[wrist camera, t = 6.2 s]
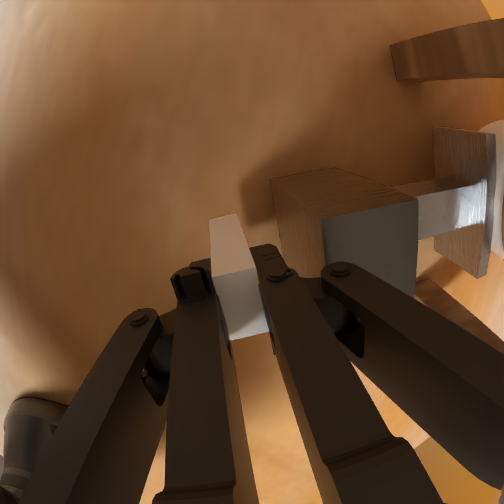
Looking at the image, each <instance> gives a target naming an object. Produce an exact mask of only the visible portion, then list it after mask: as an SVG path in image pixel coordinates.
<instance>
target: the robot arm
mask: <svg viewBox="0 0 504 504" xmlns="http://www.w3.org/2000/svg"><path fill="white" fill-rule="evenodd" d="M209 234H210V254H211V258H208V259H204V260H200V261H195V262H192V263H191V264H190V265H189V266H188V267H185V268H182V269H181V270H179V271H177V272H176V273H174V274H173V275H172V277H171V278H170V280H171V283H172V286H173V288H174V291H175V294H176V297H177V308H175V309H174V310H172V311H170V312H168V313H166V314H163V315H161V316H158V314H157V312H156V310H154V309H151V308H145V309H138V310H137V311H133V312H132V313H131V314H129V315H128V316H127V317H126V318H125V319H124V320H123V321H122V323H121V324H120V326H119V327H118V329H117V330H116V332H115V333H114V335H113V336H112V338H111V339H110V341H109V342H108V344H107V345H106V347H105V349H104V350H103V352H102V353H101V355H100V356H99V358H98V359H97V361H96V363H95V364H94V366H93V367H92V369H91V371H90V372H89V374H88V375H87V377H86V379H85V380H84V382H83V384H82V385H81V387H80V389H79V390H78V392H77V394H76V395H75V397H74V399H73V400H72V402H71V404H70V405H69V407H66V406H63V405H60V404H57V403H54V402H50V401H47V400H42V399H36V398H22V399H18V400H16V401H14V402H13V403H12V404H11V406H10V408H9V410H8V413H7V415H6V417H5V420H4V432H5V434H4V450H3V458H4V459H3V461H4V463H3V465H4V466H3V467H4V468H3V473H2V476H1V480H0V504H139V502H140V499H141V496H142V493H143V490H144V486H145V483H146V480H147V477H148V474H149V471H150V468H151V465H152V462H153V459H154V456H155V453H156V450H157V447H158V444H159V441H160V438H161V435H162V432H163V429H164V426H165V423H166V420H167V429H166V455H165V486H164V489H163V491H162V492H160V493H158V494H156V495H155V497H154V498H153V500H152V504H259V500H258V495H257V490H256V485H255V480H254V474H253V469H252V464H251V458H250V453H249V447H248V442H247V436H246V430H245V424H244V419H243V413H242V407H241V401H240V394H239V388H238V382H237V376H236V369H235V363H234V356H233V350H232V346H231V343H230V341H231V340H236V339H240V338H244V337H249V336H253V335H257V334H261V333H265V332H269V333H270V338H271V343H272V347H273V352H274V355H276V358H277V361H278V364H279V367H280V370H281V373H282V377H283V380H284V383H285V386H286V389H287V392H288V395H289V399H290V402H291V405H292V408H293V411H294V414H295V417H296V421H297V424H298V427H299V430H300V433H301V436H302V439H303V442H304V445H305V449H306V452H307V455H308V458H309V461H310V464H311V467H312V470H313V473H314V476H315V479H316V482H317V486H318V489H319V492H320V495H321V498H322V501H323V504H446V503H443V501H442V500H441V498H440V496H439V494H438V492H437V490H436V488H435V486H434V485H433V483H432V481H431V479H430V477H429V476H428V474H427V472H426V470H425V469H424V467H423V465H422V463H421V461H420V459H419V458H418V456H417V454H416V452H415V451H414V449H413V448H412V446H411V445H410V444H409V442H408V441H407V440H405V439H404V438H403V437H394V436H393V435H392V434H391V432H390V431H389V429H388V428H387V426H386V424H385V422H384V420H383V419H382V417H381V415H380V413H379V411H378V410H377V408H376V406H375V404H374V402H373V401H372V399H371V397H370V395H369V394H368V392H367V390H366V388H365V387H364V385H363V383H362V381H361V380H360V378H359V376H358V374H357V373H356V371H355V369H354V367H353V366H352V364H351V362H352V363H353V364H354V365H355V366H356V367H357V368H358V369H359V370H360V371H361V372H362V373H364V374H365V375H366V376H367V377H368V378H369V379H370V380H371V381H372V382H373V383H374V384H375V385H376V386H377V387H378V388H379V389H380V390H382V391H383V392H384V393H385V394H386V395H387V396H388V397H389V398H390V399H391V400H392V401H393V402H394V403H395V404H396V405H398V406H399V407H400V408H401V409H402V410H403V411H404V412H405V413H406V414H407V415H408V416H409V417H410V418H412V419H413V420H414V421H415V422H416V423H417V424H418V425H419V426H420V427H421V428H422V429H423V430H424V431H426V432H427V433H428V434H429V435H430V436H431V437H432V438H433V439H434V440H435V441H437V443H439V444H440V445H441V446H442V447H443V448H444V449H445V450H446V451H447V452H448V453H449V454H450V455H452V456H453V457H454V458H455V459H456V460H457V461H458V462H459V463H460V464H461V465H462V466H464V467H465V468H466V469H467V470H468V471H469V472H471V473H472V474H473V475H474V476H476V477H477V478H478V479H480V480H481V481H483V482H485V483H487V484H488V485H490V486H492V487H494V488H497V489H499V490H502V493H501V496H500V499H499V504H504V354H502V353H501V352H499V351H498V350H496V349H495V348H493V347H492V346H490V345H488V344H487V343H485V342H484V341H482V340H481V339H479V338H478V337H476V336H474V335H473V334H471V333H470V332H468V331H466V330H465V329H463V328H462V327H460V326H458V325H457V324H455V323H454V322H452V321H450V320H449V319H447V318H445V317H444V316H442V315H441V314H439V313H437V312H436V311H434V310H432V309H431V308H429V307H427V306H426V305H424V304H422V303H421V302H419V301H417V300H416V299H414V298H412V297H411V296H409V295H407V294H406V293H404V292H402V291H401V290H399V289H397V288H395V287H394V286H392V285H390V284H389V283H387V282H385V281H383V280H382V279H380V278H378V277H376V276H375V275H373V274H371V273H369V272H368V271H366V270H364V269H362V268H361V267H359V266H357V265H355V264H353V263H350V262H343V261H341V262H334V263H332V264H329V265H327V266H325V267H324V268H323V269H322V270H321V277H316V278H303V277H300V276H299V275H298V273H297V272H296V271H295V270H294V269H292V268H289V267H288V266H287V264H286V263H285V261H284V259H283V258H282V256H281V254H280V253H279V251H278V249H277V247H276V246H274V245H271V244H264V245H260V246H256V247H251V248H249V247H248V244H247V241H246V239H245V236H244V233H243V230H242V228H241V225H240V222H239V219H238V217H237V214H236V213H235V214H230V215H226V216H222V217H217V218H213V219H209ZM229 338H230V340H229ZM350 361H351V362H350ZM143 369H144V371H143ZM142 371H143V373H142Z"/></svg>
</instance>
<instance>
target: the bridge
mask: <svg viewBox="0 0 504 504" xmlns="http://www.w3.org/2000/svg"><path fill="white" fill-rule="evenodd" d="M390 48H391V53H392V57H393V62H394V67H395V73H396V78H397V80H405V81H435V80H448V79H466V78H504V18H502V19H495V20H489V21H483V22H478V23H473V24H468V25H463V26H458V27H454V28H450V29H446V30H442V31H438V32H434V33H430V34H426V35H423V36H419V37H416V38H412V39H409V40H406V41H403V42H399V43H396V44H393V45H390ZM414 299H416V300H417V301H419V302H421V303H422V304H424V305H426V306H427V307H429V308H431V309H432V310H434V311H436V312H437V313H439V314H441V315H442V316H444V317H445V318H447V319H449V320H450V321H452V322H454V323H455V324H457V325H458V326H460V327H462V328H463V329H465V330H466V331H468V332H470V333H471V334H473V335H474V336H476V337H478V338H479V339H481V340H482V341H484V342H485V343H487V344H488V345H490V346H492V347H493V348H495V349H496V350H498V351H499V352H501V353H502V354H504V342H503V341H502V340H501V339H500V338H499V337H498V336H497V335H496V334H495V333H494V332H492V331H491V330H490V329H489V328H488V327H487V326H486V325H485V324H483V323H482V322H481V321H480V320H479V319H478V318H477V317H475V316H474V315H473V314H472V313H471V312H470V311H468V310H467V309H466V308H465V307H464V306H463V305H461V304H460V303H459V302H458V301H457V300H455V299H454V298H453V297H452V296H451V295H449V294H448V293H447V292H446V291H444V290H443V289H442V288H441V287H439V286H438V285H437V284H436V283H434V282H433V281H432V280H431V279H427V280H424V281H421V282H418V283H415V292H414Z"/></svg>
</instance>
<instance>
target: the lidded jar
mask: <svg viewBox="0 0 504 504" xmlns="http://www.w3.org/2000/svg"><path fill="white" fill-rule="evenodd" d="M479 131H480V132H486V133H492V134H495V135H496V189H495V197H494V224H493V233H492V241H491V249H490V250H491V251H492V252H493V253H494V254H496V255H497V256H498V257H500V258H501V259H503V260H504V119H503V120H498V121H494V122H492V123H490V124H487V125H486V126H484V127H482V128H481V129H480V130H479Z"/></svg>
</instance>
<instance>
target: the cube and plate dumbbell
mask: <svg viewBox="0 0 504 504" xmlns="http://www.w3.org/2000/svg"><path fill="white" fill-rule="evenodd" d="M432 132H433V144H434V160H435V179H432V180H426V181H420V182H414V183H408V184H403V185H397V186H391V187H387V186H385V185H382V184H379V183H377V182H374V181H371V180H369V179H366V178H363V177H361V176H358V175H355V174H352V173H349V172H346V171H344V170H341V169H338V168H330V169H325V170H319V171H313V172H307V173H302V174H296V175H291V176H286V177H281V178H276V179H270V182H271V187H272V193H273V199H274V205H275V211H276V217H277V223H278V229H279V235H280V241H281V247H282V254H283V259H284V261H285V263H286V264H287V266H288V267H289V268H292V269H294V270H295V271H296V272H297V273H298V275H299V276H300V277H303V278H316V277H321V270H322V269H323V268H324V267H325V266H327V265H329V264H332V263H334V262H341V261H343V262H350V263H353V264H355V265H357V266H359V267H361V268H362V269H364V270H366V271H368V272H369V273H371V274H373V275H375V276H376V277H378V278H380V279H382V280H383V281H385V282H387V283H389V284H390V285H392V286H394V287H395V288H397V289H399V290H401V291H402V292H404V293H406V294H407V295H409V296H411V297H412V298H414V292H415V281H416V268H417V252H418V240H420V239H424V238H427V237H431V236H434V250H435V251H437V252H438V253H440V254H441V255H443V256H444V257H446V258H447V259H449V260H450V261H452V262H453V263H455V264H456V265H458V266H459V267H461V268H462V269H464V270H465V271H467V272H468V273H470V274H471V275H472V276H474V277H475V278H477V279H478V278H480V277H482V276H484V275H486V273H487V268H488V262H489V255H490V249H491V241H492V233H493V224H494V197H495V189H496V135H495V134H492V133H486V132H480V131H473V130H466V129H458V128H450V127H432Z"/></svg>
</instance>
